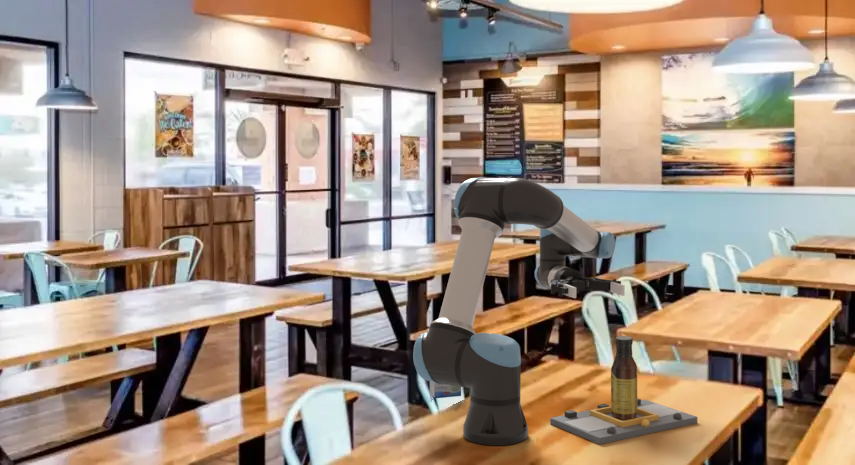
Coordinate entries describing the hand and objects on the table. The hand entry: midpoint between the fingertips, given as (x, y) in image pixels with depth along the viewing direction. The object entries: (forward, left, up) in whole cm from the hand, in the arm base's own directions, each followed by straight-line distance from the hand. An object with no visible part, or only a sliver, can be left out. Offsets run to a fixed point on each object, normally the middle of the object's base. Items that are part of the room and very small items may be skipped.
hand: (599, 291), depth 229 cm
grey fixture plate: (-5, -15, -30) cm, 34 cm away
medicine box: (-29, +29, -30) cm, 51 cm away
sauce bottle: (-5, -15, -29) cm, 33 cm away
